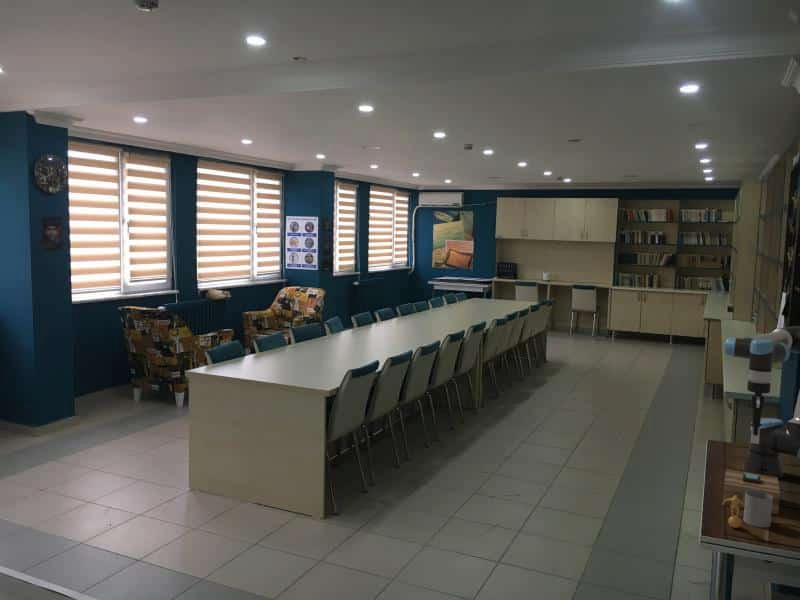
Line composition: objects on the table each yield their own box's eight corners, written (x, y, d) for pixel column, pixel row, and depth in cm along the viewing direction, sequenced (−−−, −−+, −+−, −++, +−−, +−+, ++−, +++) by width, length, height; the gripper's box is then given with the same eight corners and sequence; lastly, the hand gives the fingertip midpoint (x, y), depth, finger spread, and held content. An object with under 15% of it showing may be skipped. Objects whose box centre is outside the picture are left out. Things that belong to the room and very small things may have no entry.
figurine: (749, 528, 229) (751, 494, 228) (745, 534, 224) (748, 500, 223) (722, 522, 234) (725, 488, 233) (718, 527, 229) (721, 493, 228)
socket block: (724, 488, 266) (725, 466, 265) (776, 497, 258) (778, 474, 257) (722, 504, 250) (724, 480, 249) (778, 514, 242) (780, 489, 241)
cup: (739, 521, 235) (741, 494, 234) (748, 515, 241) (750, 488, 240) (766, 529, 229) (768, 501, 228) (773, 522, 235) (776, 495, 234)
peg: (744, 494, 256) (745, 473, 256) (756, 496, 255) (757, 475, 254) (744, 497, 253) (745, 477, 252) (756, 499, 251) (757, 479, 250)
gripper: (747, 376, 257) (743, 436, 260) (748, 383, 246) (743, 446, 248) (770, 379, 254) (765, 439, 256) (771, 385, 242) (766, 449, 245)
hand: (754, 442), depth 252 cm, fingers closed
